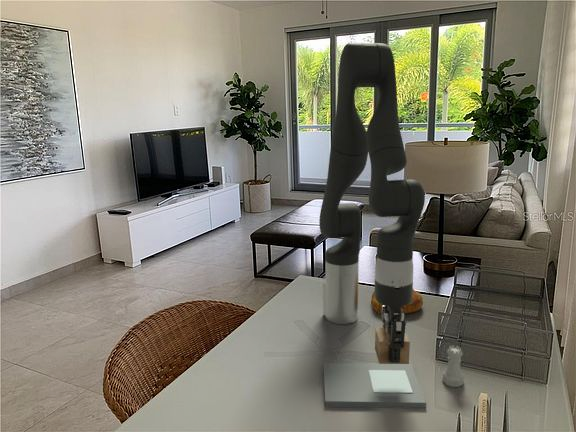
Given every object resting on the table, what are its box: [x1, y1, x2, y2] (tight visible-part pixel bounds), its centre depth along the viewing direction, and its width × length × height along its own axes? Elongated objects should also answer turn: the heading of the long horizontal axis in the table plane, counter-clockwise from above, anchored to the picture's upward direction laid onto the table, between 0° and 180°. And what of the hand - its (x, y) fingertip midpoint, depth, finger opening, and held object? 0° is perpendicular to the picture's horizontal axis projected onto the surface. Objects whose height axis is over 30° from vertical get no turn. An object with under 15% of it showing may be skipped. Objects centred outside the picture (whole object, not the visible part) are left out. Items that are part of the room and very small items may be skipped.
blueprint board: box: [323, 362, 427, 409], centre depth 97 cm, size 20×14×1 cm
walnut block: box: [374, 327, 411, 364], centre depth 94 cm, size 6×6×5 cm
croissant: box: [370, 289, 424, 315], centre depth 135 cm, size 14×16×8 cm
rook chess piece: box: [442, 345, 465, 388], centre depth 97 cm, size 4×4×8 cm
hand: (391, 352), depth 95 cm, fingers closed on walnut block, 6 cm apart
